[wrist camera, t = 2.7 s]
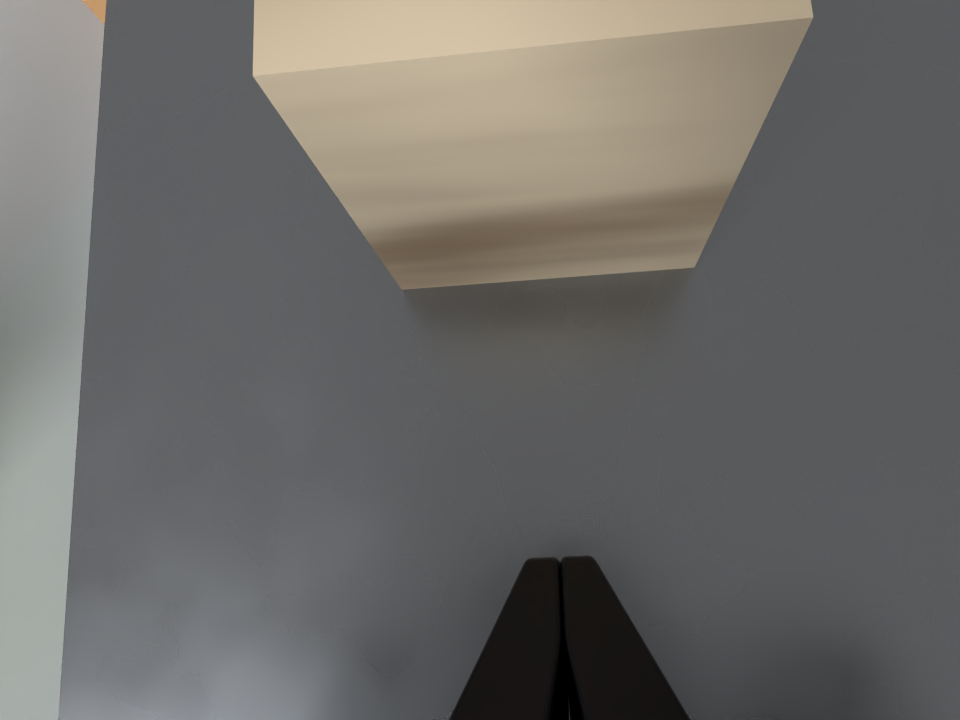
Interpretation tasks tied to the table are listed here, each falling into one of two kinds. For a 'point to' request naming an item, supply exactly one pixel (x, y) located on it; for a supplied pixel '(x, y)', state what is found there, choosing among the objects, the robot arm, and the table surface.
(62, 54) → the table surface
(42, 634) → the table surface
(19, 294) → the table surface
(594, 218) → the beech block
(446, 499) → the slate plate
